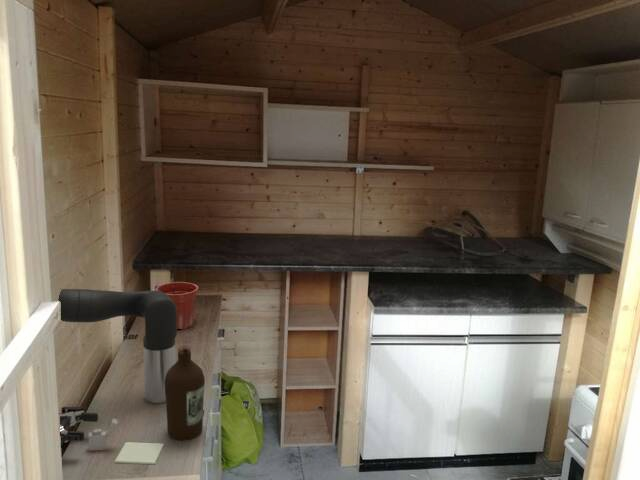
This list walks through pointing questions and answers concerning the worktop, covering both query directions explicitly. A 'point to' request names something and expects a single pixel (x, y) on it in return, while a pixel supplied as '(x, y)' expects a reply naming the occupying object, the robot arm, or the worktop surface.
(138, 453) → the mat
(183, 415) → the olive oil
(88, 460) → the worktop surface
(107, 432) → the lighter
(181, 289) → the flower pot
